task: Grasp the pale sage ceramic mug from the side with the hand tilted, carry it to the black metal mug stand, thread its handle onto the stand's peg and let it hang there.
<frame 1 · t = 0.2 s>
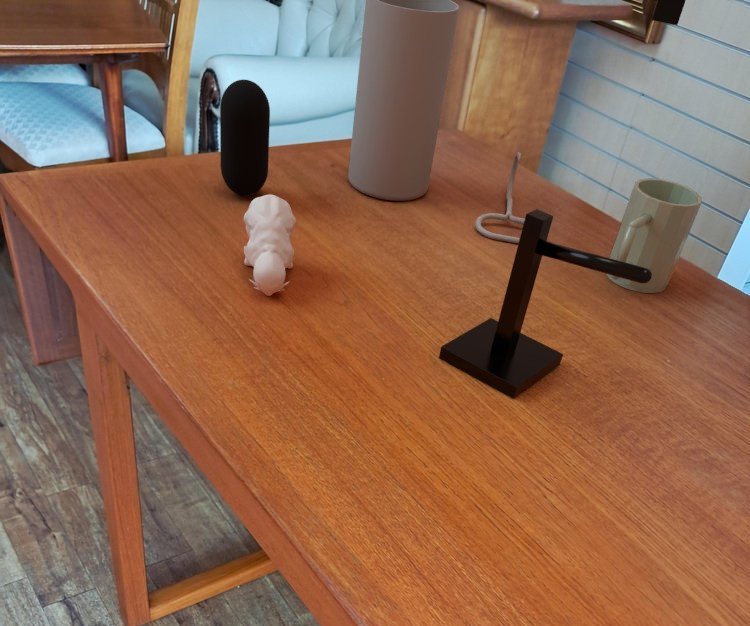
hand: (663, 11, 88), 31 cm above the table, tool pointing down, fingers open, 13 cm apart
hook: (506, 216, 120), on the table
white animal figurine: (268, 279, 96), on the table
mug stand: (499, 361, 89), on the table
cylinder vase: (387, 187, 123), on the table
decorative object: (244, 195, 114), on the table
mug: (635, 277, 109), on the table
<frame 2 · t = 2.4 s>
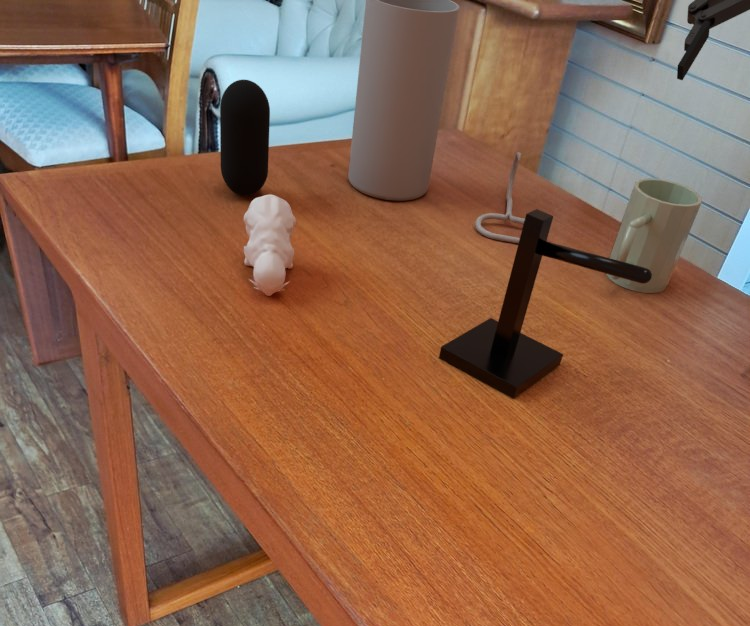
hand: (729, 89, 100), 23 cm above the table, tool tilted 45°, fingers open, 13 cm apart
nothing on the table moved.
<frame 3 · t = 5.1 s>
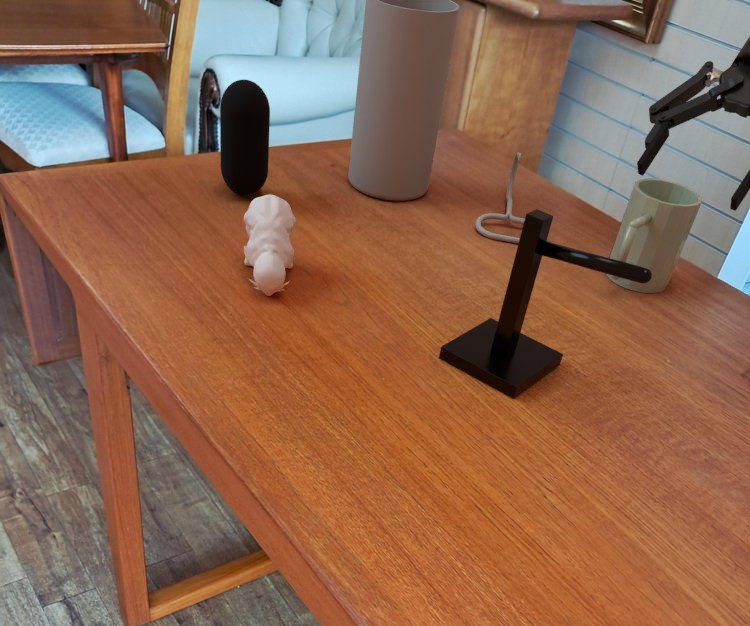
hand: (685, 186, 106), 11 cm above the table, tool tilted 45°, fingers open, 13 cm apart
nothing on the table moved.
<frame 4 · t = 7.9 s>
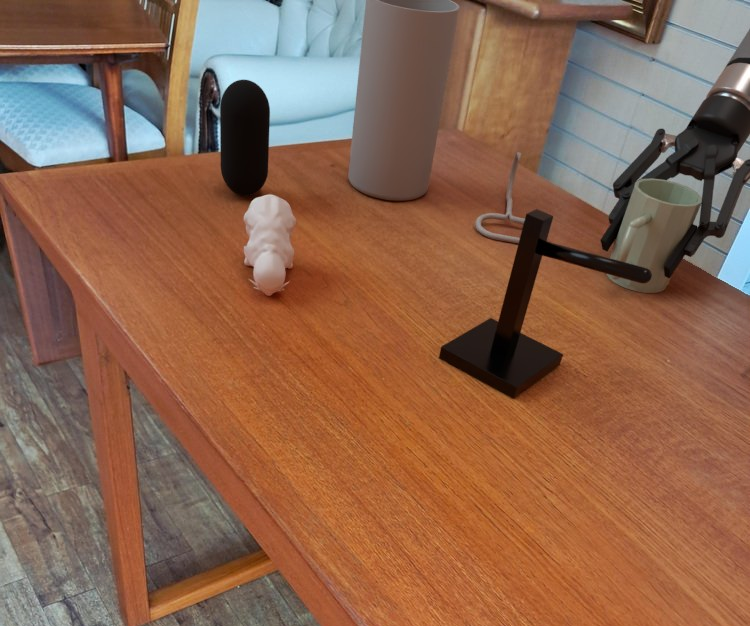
hand: (634, 258, 105), 4 cm above the table, tool tilted 45°, fingers closed on mug, 9 cm apart
mug: (635, 277, 109), on the table, touching gripper
everything else where it was.
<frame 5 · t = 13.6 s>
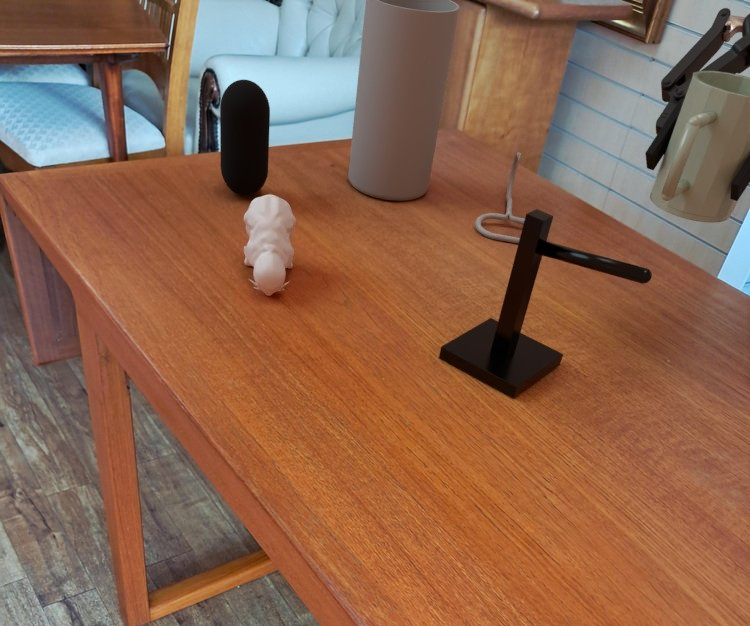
hand: (690, 176, 80), 21 cm above the table, tool tilted 45°, fingers closed on mug, 9 cm apart
mug: (689, 205, 85), point 17 cm above the table, touching gripper
everything else where it was.
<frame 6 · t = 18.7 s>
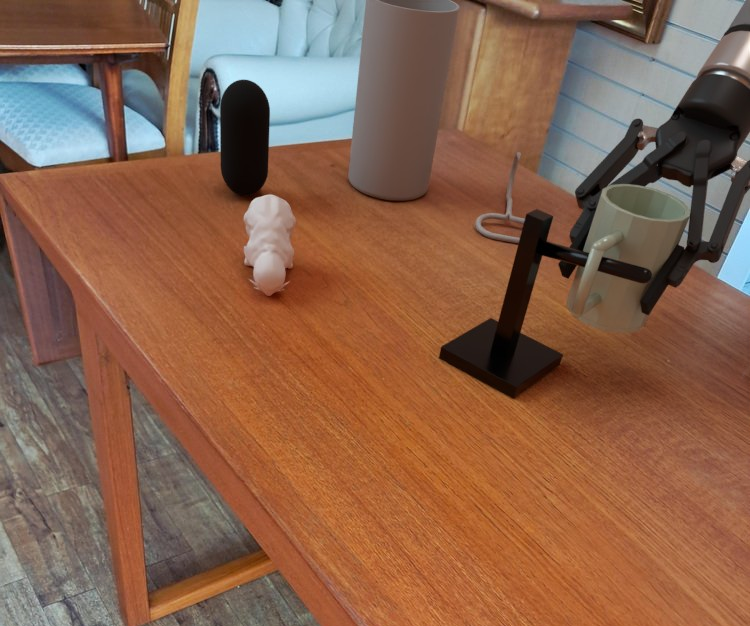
hand: (603, 289, 80), 11 cm above the table, tool tilted 45°, fingers closed on mug, 9 cm apart
mug: (605, 312, 84), point 8 cm above the table, touching gripper
everything else where it was.
when the fingers open (10 cm above the table, at t = 19.5 s): mug drops 2 cm and tips over, resting on mug stand.
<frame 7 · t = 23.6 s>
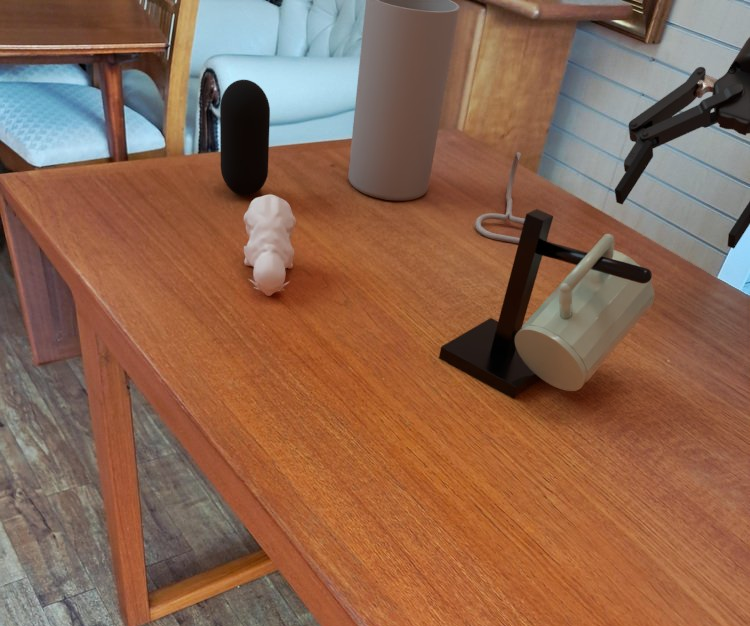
hand: (672, 218, 87), 15 cm above the table, tool tilted 45°, fingers open, 13 cm apart
mug: (548, 361, 81), point 5 cm above the table, tilted 61°, touching mug stand
everything else where it was.
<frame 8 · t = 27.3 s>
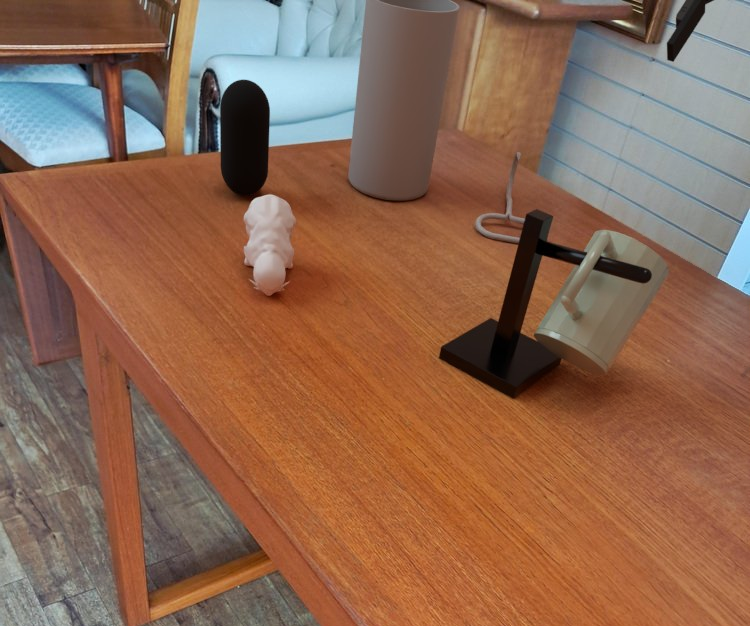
hand: (726, 70, 86), 28 cm above the table, tool tilted 45°, fingers open, 13 cm apart
mug: (569, 354, 83), point 5 cm above the table, tilted 41°, touching mug stand
everything else where it was.
at the end: mug touching mug stand; mug inside the target area on the mug stand (4.8 cm from its centre), point 4.5 cm above the mug stand's base; the gripper is holding nothing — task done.
